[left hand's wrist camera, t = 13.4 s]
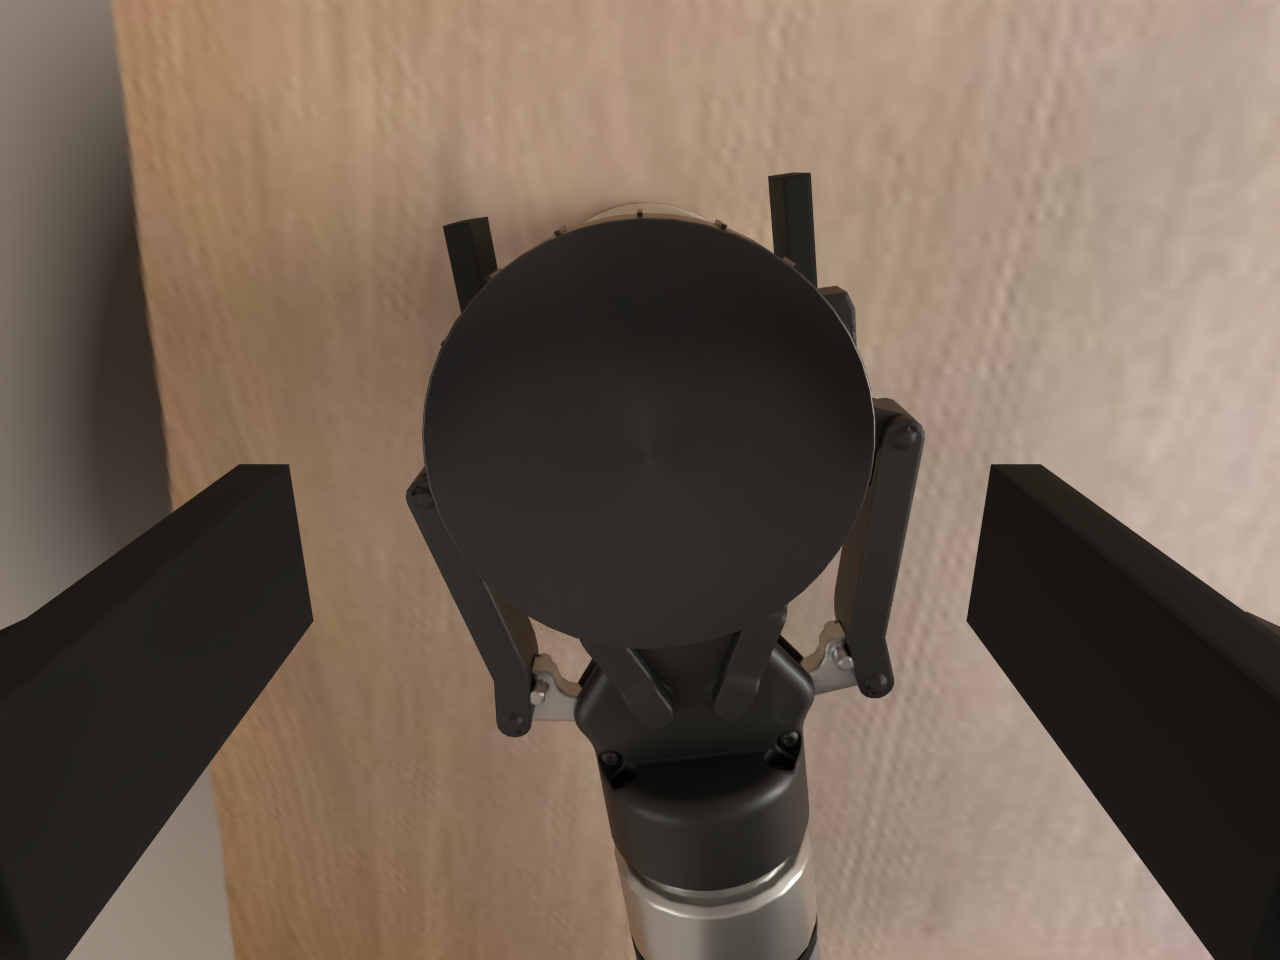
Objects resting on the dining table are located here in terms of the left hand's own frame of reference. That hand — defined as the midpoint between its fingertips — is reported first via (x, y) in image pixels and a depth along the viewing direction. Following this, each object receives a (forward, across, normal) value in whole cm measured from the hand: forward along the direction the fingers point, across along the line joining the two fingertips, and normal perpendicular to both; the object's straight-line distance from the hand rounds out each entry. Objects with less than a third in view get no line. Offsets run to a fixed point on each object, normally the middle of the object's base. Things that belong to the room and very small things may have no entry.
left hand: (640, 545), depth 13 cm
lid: (+4, 0, 0) cm, 4 cm away
